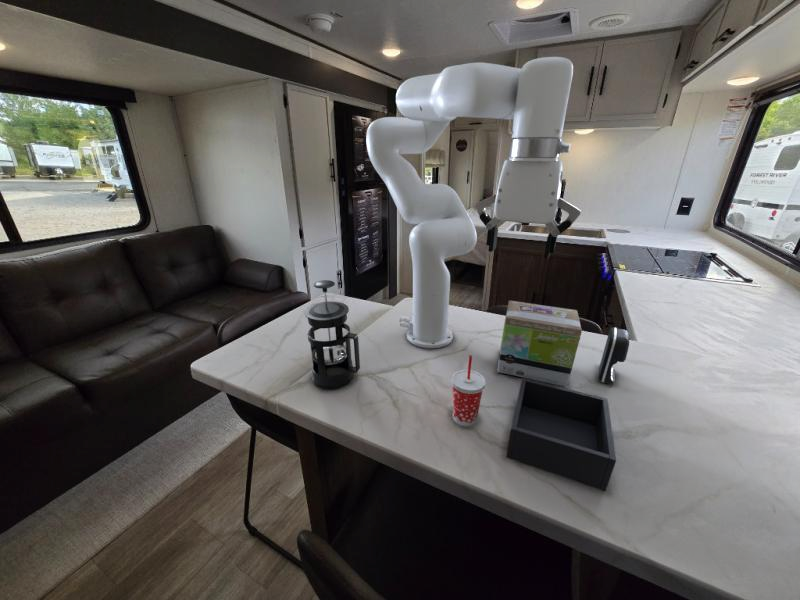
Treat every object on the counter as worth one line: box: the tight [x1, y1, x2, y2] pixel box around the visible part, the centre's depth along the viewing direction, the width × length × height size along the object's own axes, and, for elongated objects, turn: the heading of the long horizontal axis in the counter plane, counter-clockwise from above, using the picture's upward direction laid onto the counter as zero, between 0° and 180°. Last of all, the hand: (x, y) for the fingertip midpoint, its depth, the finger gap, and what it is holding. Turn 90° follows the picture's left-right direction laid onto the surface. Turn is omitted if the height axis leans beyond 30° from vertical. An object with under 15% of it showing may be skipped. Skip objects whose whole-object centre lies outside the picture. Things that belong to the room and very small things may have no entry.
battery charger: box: [597, 327, 630, 385], centre depth 74 cm, size 7×4×11 cm, turn 149°
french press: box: [304, 279, 361, 391], centre depth 72 cm, size 12×9×23 cm
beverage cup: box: [450, 354, 487, 427], centre depth 62 cm, size 6×6×14 cm
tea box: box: [497, 300, 583, 388], centre depth 77 cm, size 15×10×15 cm, turn 70°
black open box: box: [505, 377, 617, 492], centre depth 59 cm, size 15×15×6 cm
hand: (518, 253), depth 62 cm, fingers open, 9 cm apart
